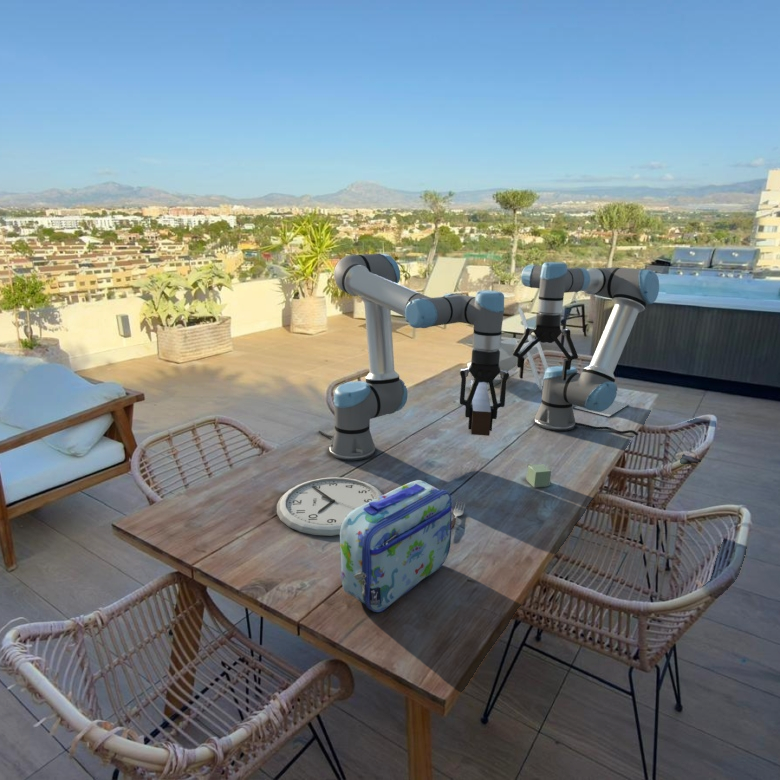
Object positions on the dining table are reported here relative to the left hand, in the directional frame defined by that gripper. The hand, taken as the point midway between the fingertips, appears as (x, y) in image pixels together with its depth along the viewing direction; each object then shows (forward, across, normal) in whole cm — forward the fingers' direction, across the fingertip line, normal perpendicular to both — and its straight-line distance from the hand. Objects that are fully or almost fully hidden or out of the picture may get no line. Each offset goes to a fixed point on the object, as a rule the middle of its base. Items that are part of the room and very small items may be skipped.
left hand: (479, 428), depth 149 cm
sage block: (+18, -19, -5) cm, 27 cm away
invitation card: (+18, -56, -82) cm, 101 cm away
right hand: (-8, -20, -27) cm, 35 cm away
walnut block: (0, 0, -11) cm, 11 cm away
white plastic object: (+19, -18, -109) cm, 112 cm away
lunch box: (+18, +18, +47) cm, 54 cm away
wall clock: (+19, +39, +17) cm, 47 cm away
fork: (+18, +6, +21) cm, 29 cm away
